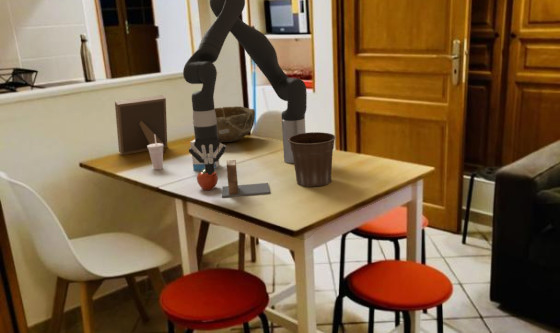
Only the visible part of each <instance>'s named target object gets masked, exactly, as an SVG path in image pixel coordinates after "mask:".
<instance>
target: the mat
mask: <svg viewBox="0 0 560 333" xmlns="http://www.w3.org/2000/svg"><path fill="white" fill-rule="evenodd" d="M269 194H271V191H270V185H269V182H260V183H250V184H238V194H234V195H229V188H228V185H227V186H226V185H224V186H222V190H221V198H223V199H224V198H233V197H244V196H259V195H269Z"/></svg>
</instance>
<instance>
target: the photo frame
mask: <svg viewBox="0 0 560 333" xmlns="http://www.w3.org/2000/svg"><path fill="white" fill-rule="evenodd" d="M114 108H115V120H116V130H117V131H116V133H117V142H118V152H119V154H120V155H121V156H126V155H130V154H135V153H142V152H149V149H148V147H147V146H148V145H150V144H155V138H154V134H155V135H156V142H157V143H161V144H163V146H164V147H163V154H164V153H165V148H168V128H167V127H168V126H167V98H166V97H165V96H164V95H163V94H161V95H151V96H145V97H138V98H137V97H136V98H129V99H121V100H114Z"/></svg>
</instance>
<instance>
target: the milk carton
mask: <svg viewBox="0 0 560 333" xmlns="http://www.w3.org/2000/svg"><path fill="white" fill-rule="evenodd" d="M194 142H195V138H194V139H193V140H191V141H190V142H189V143H190V148H191V147H192V146H194ZM196 150H197V151H196V152H197V153H198V154H199V155H200V156H201V157H202V158H203V154H202V153H201V152H200V151H199V150H198V149H197V148H196ZM218 152H219V147H218V148H217V149H216V151H215V152H214V153H213V158H215V157H216V155H217V154H218ZM207 155H208V161H209V163H210V159H209V153H208V154H207ZM191 161H192V169H193V171H202V170H204V169H205V164H204V163H200V162H199V161H198V160H197V159H196V158H195V157H194V156H193V155H192V154H191ZM219 166H220V159H219V160H218V161H217V162H214V170H215V169H217V168H218V167H219Z"/></svg>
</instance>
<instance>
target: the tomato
mask: <svg viewBox="0 0 560 333" xmlns="http://www.w3.org/2000/svg"><path fill="white" fill-rule="evenodd" d="M218 180H219V176H218V173H217V172H216V171H214V173H213V174H211V175H208V173H206V170H205V169H204V170H200V172H199V173H198V174H197V175H196V182H197V184H198V186H199V188H201V189H202V190H204V191H210V190H214V189H215V188H216V185H217V184H218Z"/></svg>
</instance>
